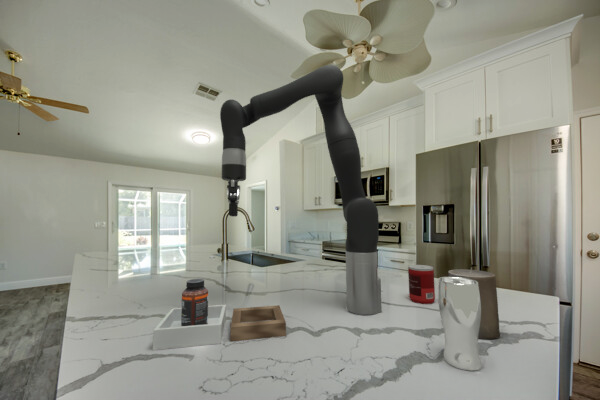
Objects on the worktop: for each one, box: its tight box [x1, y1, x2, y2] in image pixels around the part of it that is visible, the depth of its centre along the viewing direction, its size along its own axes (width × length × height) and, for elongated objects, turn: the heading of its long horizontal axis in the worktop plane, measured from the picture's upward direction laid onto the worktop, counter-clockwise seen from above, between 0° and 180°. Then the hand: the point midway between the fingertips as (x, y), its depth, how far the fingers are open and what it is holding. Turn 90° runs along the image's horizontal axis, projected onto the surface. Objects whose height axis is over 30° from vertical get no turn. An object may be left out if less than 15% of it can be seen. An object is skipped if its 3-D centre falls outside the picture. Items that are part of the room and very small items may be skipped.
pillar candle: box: [448, 267, 501, 340], centre depth 63 cm, size 10×10×15 cm
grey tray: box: [152, 304, 227, 351], centre depth 62 cm, size 14×14×4 cm
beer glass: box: [437, 276, 482, 372], centre depth 49 cm, size 7×7×15 cm
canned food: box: [407, 264, 436, 305], centre depth 86 cm, size 8×8×11 cm
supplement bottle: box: [181, 278, 209, 326], centre depth 62 cm, size 6×6×11 cm
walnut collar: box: [230, 305, 287, 342], centre depth 65 cm, size 12×12×3 cm
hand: (233, 216), depth 81 cm, fingers open, 8 cm apart
